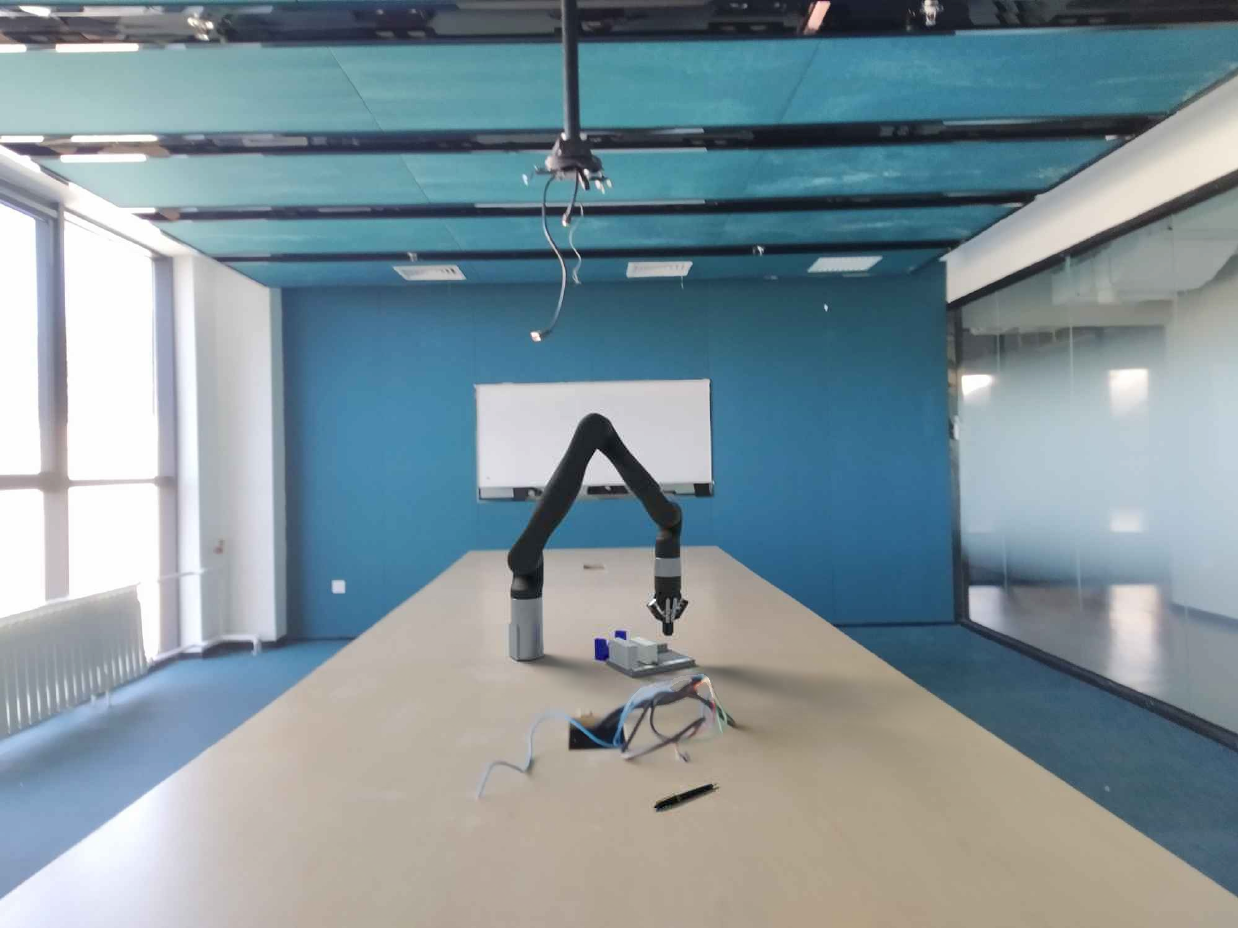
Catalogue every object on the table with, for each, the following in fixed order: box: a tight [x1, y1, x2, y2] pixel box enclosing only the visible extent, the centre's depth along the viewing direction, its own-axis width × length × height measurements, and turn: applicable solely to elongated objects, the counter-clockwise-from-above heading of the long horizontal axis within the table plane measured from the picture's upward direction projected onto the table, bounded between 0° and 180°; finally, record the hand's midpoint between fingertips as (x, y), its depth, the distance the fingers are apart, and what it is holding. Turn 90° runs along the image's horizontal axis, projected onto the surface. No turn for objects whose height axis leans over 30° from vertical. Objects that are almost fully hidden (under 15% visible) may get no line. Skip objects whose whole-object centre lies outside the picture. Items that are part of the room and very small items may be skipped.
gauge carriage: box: [628, 636, 659, 665], centre depth 192 cm, size 4×12×5 cm, turn 30°
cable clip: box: [594, 629, 628, 662], centre depth 205 cm, size 12×4×6 cm, turn 147°
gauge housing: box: [605, 637, 696, 679], centre depth 194 cm, size 20×14×8 cm
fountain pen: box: [653, 782, 719, 809], centre depth 118 cm, size 14×1×2 cm, turn 125°
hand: (667, 635), depth 197 cm, fingers closed
